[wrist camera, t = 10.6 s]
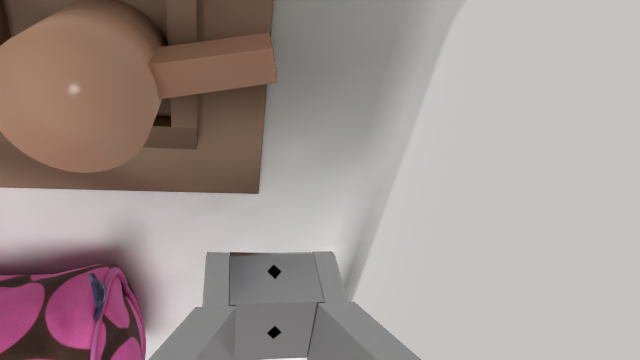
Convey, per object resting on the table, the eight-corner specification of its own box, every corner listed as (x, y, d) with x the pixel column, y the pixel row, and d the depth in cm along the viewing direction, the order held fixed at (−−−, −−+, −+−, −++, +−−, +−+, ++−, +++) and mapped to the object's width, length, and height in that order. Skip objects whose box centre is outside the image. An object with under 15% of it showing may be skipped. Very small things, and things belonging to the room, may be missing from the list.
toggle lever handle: (75, 119, 22) (27, 182, 17) (26, 5, 19) (-51, 40, 14) (276, 90, 23) (287, 142, 18) (258, -23, 20) (267, 0, 15)
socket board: (-194, -224, 14) (-235, -236, 13) (283, -135, 18) (286, -138, 17) (-52, 182, 23) (-69, 199, 21) (258, 191, 26) (259, 205, 25)
